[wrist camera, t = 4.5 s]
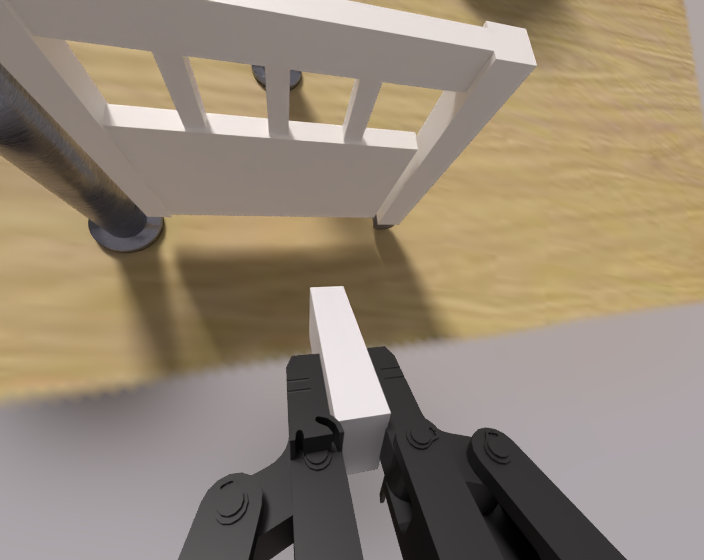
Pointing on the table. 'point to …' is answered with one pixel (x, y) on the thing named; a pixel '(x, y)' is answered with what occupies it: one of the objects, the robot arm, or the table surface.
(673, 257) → the table surface
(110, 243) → the hinge post
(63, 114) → the gate
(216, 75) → the table surface
